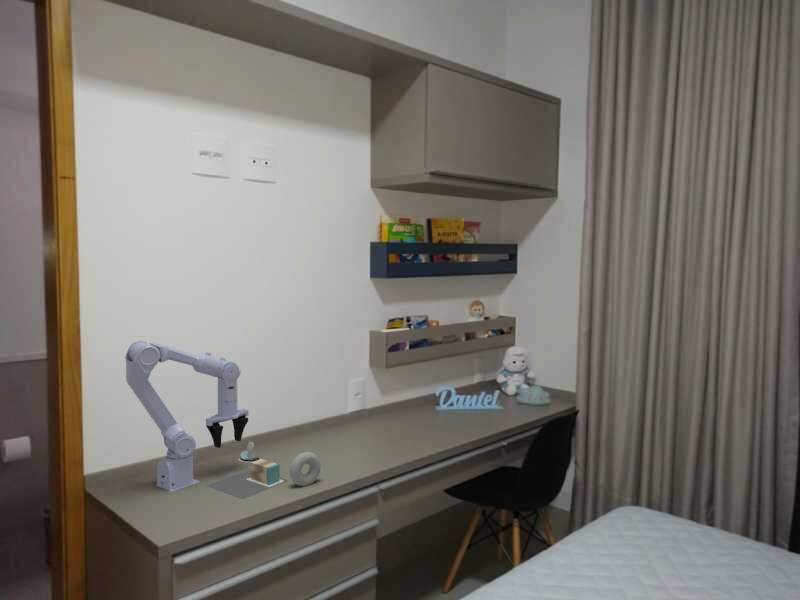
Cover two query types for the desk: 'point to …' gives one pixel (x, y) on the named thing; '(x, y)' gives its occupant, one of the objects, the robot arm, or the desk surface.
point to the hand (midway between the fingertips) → (227, 443)
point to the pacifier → (248, 453)
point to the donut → (312, 472)
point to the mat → (242, 485)
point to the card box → (265, 472)
